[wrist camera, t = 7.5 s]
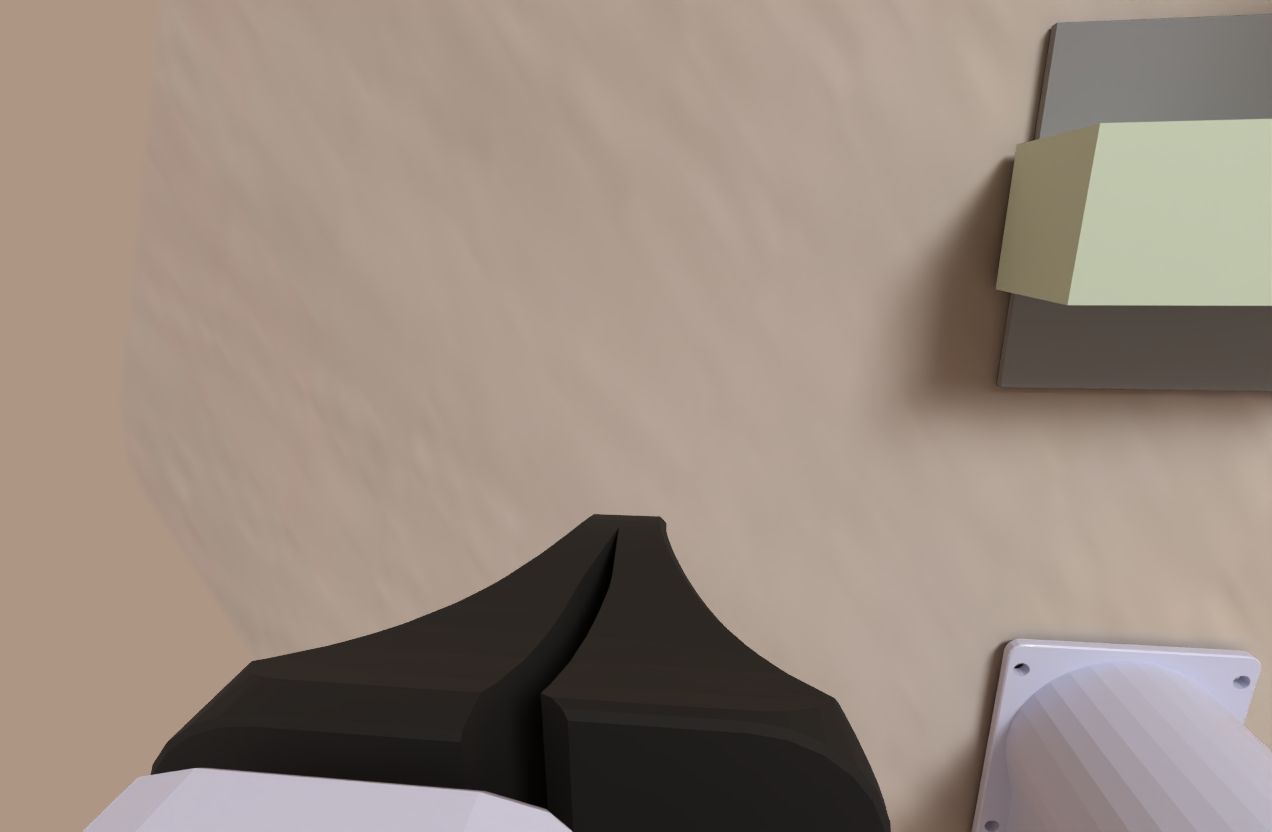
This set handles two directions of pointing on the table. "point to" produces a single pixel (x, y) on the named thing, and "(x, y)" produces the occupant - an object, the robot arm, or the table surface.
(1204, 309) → the mat
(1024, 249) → the sage block
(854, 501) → the table surface
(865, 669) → the table surface
